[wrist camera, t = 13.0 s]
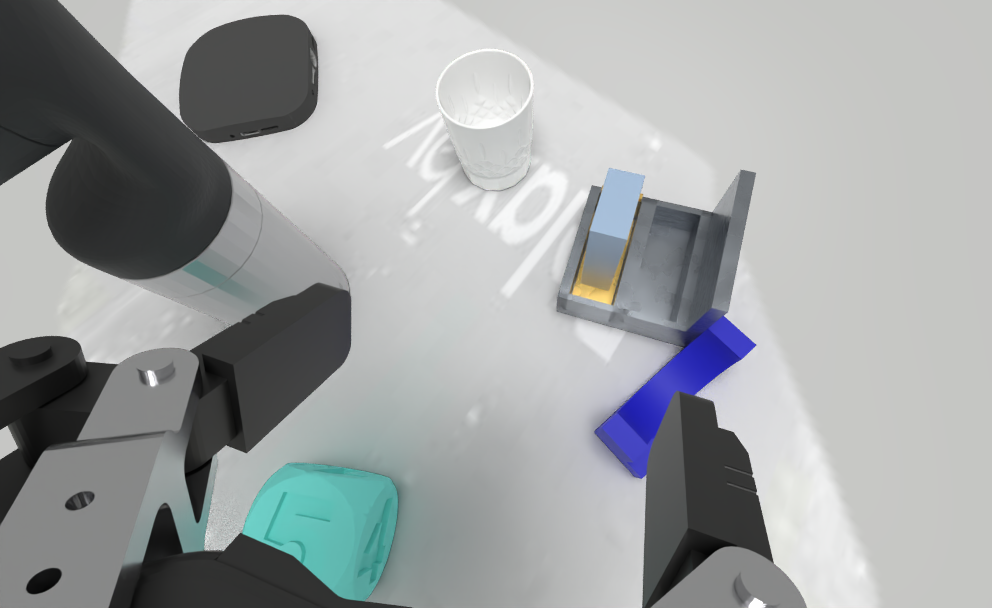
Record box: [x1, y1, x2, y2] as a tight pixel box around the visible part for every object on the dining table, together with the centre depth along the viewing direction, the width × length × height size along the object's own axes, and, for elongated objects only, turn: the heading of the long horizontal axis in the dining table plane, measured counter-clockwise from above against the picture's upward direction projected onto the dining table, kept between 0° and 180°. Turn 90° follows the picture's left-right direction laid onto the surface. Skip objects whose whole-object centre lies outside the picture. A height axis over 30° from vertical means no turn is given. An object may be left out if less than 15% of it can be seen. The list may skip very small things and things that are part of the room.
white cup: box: [435, 49, 534, 191], centre depth 42 cm, size 8×8×10 cm
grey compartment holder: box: [557, 170, 756, 347], centre depth 37 cm, size 11×10×10 cm
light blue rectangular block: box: [580, 168, 645, 291], centre depth 36 cm, size 2×5×10 cm, turn 161°
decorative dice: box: [242, 463, 398, 601], centre depth 34 cm, size 8×8×8 cm
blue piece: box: [594, 316, 756, 479], centre depth 35 cm, size 12×4×6 cm, turn 131°
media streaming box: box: [179, 15, 318, 143], centre depth 52 cm, size 15×15×3 cm
